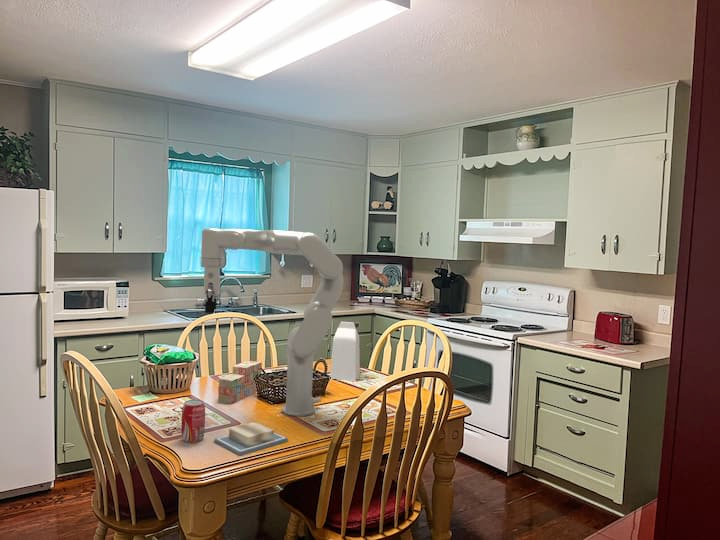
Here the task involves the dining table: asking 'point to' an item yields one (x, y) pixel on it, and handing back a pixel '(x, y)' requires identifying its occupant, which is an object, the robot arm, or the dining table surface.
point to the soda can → (193, 421)
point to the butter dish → (250, 438)
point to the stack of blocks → (239, 382)
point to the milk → (345, 353)
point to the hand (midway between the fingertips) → (210, 310)
